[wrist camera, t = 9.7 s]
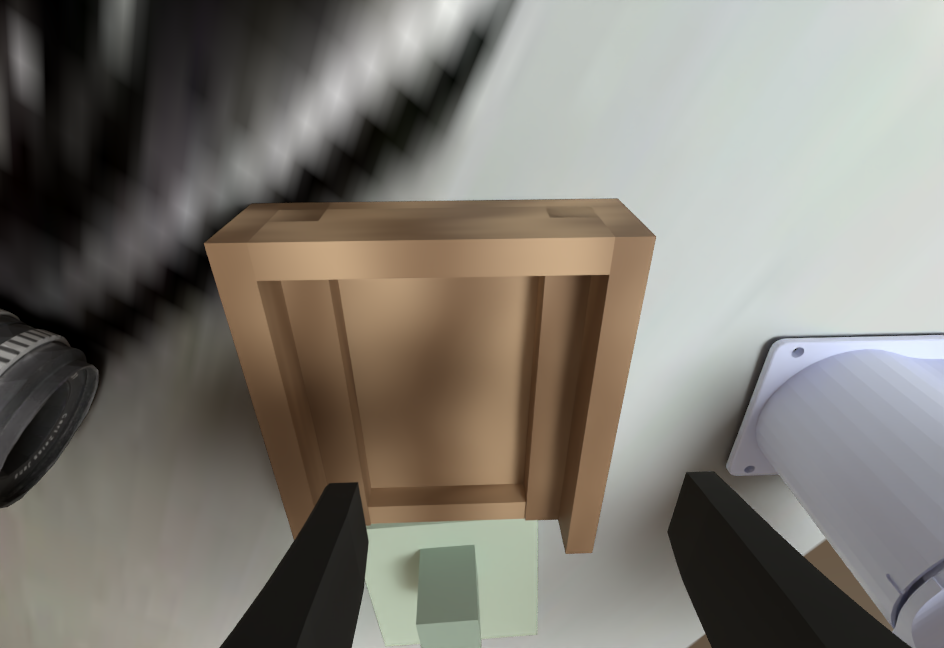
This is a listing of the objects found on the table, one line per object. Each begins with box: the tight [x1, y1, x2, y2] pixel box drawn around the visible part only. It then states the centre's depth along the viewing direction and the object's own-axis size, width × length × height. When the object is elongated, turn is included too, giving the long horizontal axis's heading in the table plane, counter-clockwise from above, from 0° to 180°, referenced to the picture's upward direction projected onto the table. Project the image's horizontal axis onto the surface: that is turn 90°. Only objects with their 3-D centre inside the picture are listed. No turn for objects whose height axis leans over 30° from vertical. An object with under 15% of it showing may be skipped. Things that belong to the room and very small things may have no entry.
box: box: [204, 199, 656, 554], centre depth 19 cm, size 13×15×4 cm
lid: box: [365, 519, 538, 648], centre depth 27 cm, size 10×12×5 cm
